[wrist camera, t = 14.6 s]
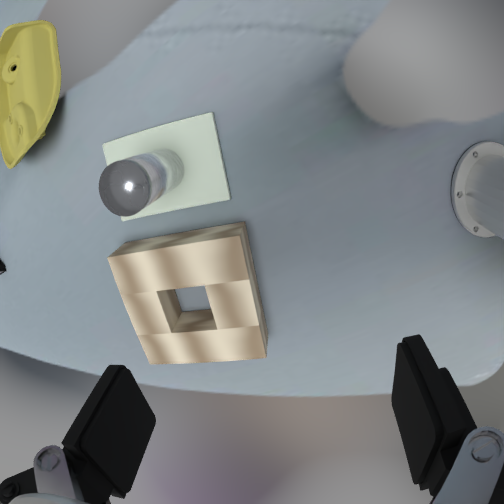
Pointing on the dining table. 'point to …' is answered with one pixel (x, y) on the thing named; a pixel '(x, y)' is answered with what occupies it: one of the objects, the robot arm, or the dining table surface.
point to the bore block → (190, 275)
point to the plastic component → (27, 86)
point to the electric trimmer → (2, 268)
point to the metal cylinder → (139, 180)
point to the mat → (192, 155)
